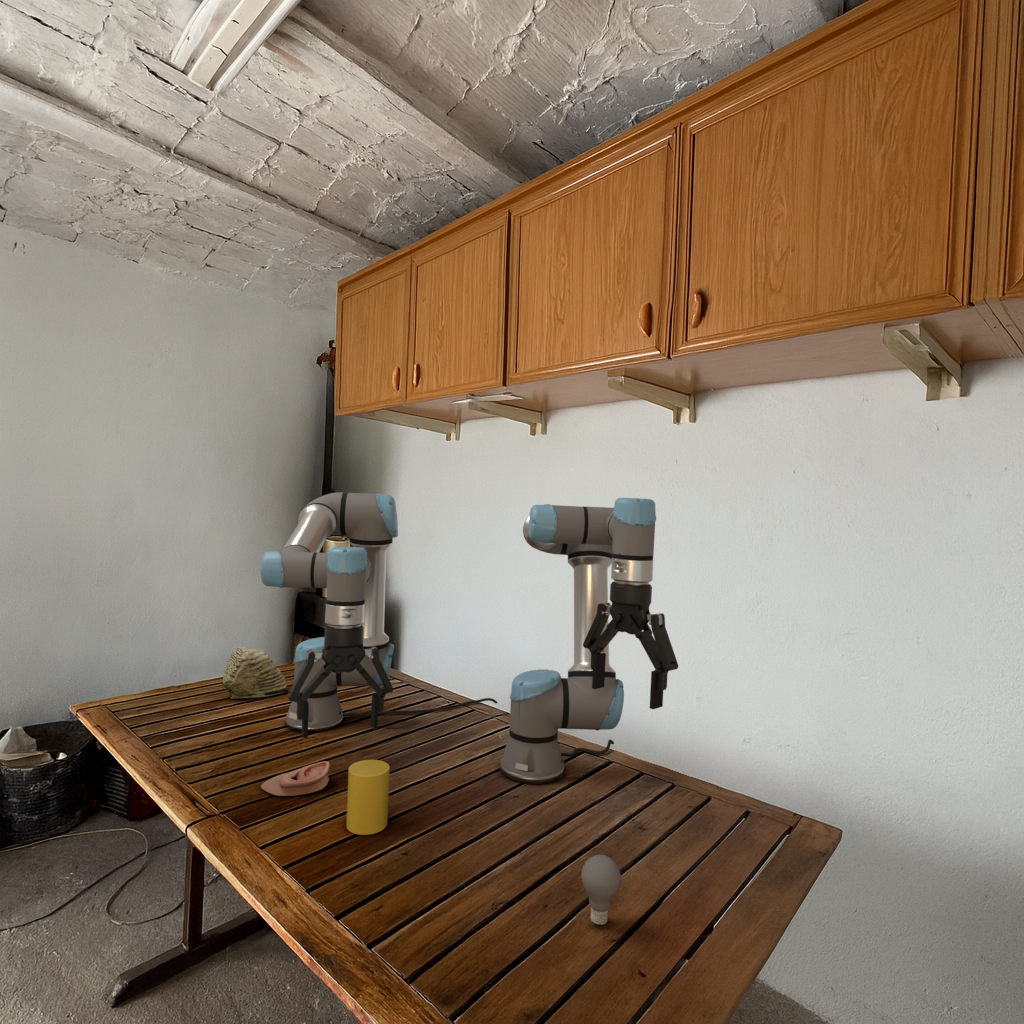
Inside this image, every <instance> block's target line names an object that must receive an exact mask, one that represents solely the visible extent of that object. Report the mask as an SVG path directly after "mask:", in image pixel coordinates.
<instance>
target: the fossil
mask: <svg viewBox="0 0 1024 1024" xmlns="http://www.w3.org/2000/svg"><path fill="white" fill-rule="evenodd" d="M222 676H223V677H222V685H223V687H224V688H225V690H226V691H228V693H229V698H230V699H250V698H264V697H271V696H275V695H281V694H284V693H285V691H286V689H287V687H288V686H287V680H286V678H285V676H284V674H283V673H282V672H281V669H279V668H278V667H277V665H276V663H275V662H274V660H273V659H272V658H271V657H270V656H269V655H268V654H267V653H266V652H265V650H264V649H263V648H260V647H258V648H251V647H247V646H246V647H245V646H238V647H237V648H236V649H235V650H233V651H232V653H231V656H230V657H229V659H228V660H227V663H226V666H225V668H224V671H223V675H222Z"/></svg>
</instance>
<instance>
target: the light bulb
mask: <svg viewBox="0 0 1024 1024" xmlns="http://www.w3.org/2000/svg"><path fill="white" fill-rule="evenodd" d="M621 875H622V874H621V871H620V868H619V867H618V865H617V863H616V862H615V861H614V860H613V859H612V858H611V857H609V856H608V855H605V854H595V855H592V856H590V857H589V858H588V859H587V860H586V861H585V862H584V864H583V866H582V869H581V875H580V877H581V883H582V886H583V888H584V890H585V892H586V894H587V896H588V902H589V905H590V920H591V922H593V923H594V924H596V925H601V926H602V925H606V924H607V922H608V918H609V917H608V914H609V908H610V906H611V903H612V900H613V898H614V897H615V895H616V894H617V892H618V891H619V889H620V885H621V880H622V876H621Z"/></svg>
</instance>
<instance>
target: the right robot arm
mask: <svg viewBox="0 0 1024 1024" xmlns="http://www.w3.org/2000/svg"><path fill="white" fill-rule="evenodd" d="M656 521H657V516H656V502H655V501H654V500H653V499H651V498H638V497H618V498H616V499H615V501H614V504H613V507H609V506H608V507H606V506H577V505H576V506H575V505H560V504H559V505H557V504H550V503H545V504H534V505H532V506H531V507H530V511H529V516H527V518H526V520H525V521H524V523H523V527H522V534H523V535H522V536H523V538H524V540H525V542H526V543H527V544H528V545H529V546H530V547H531V548H533V549H535V550H537V551H539V552H543V553H546V554H550V555H560V556H567V564H568V565H569V566H571V568H572V569H573V665H572V666H571V667H570V668H569V669H568V670H567V677H562V676H561V673H560V672H559V671H557V670H553V669H543V668H542V669H541V668H540V669H532V670H528V671H523V672H522V673H521V672H520V673H519V674H517V675H516V676H515V677H514V678H513V680H512V682H511V687H510V689H511V690H510V694H509V699H510V710H509V711H510V713H509V729H508V731H509V732H508V739H507V742H506V744H505V748H504V752H503V754H502V755H501V758H500V760H499V770H500V772H501V774H502V775H503V776H505V778H507V779H510V780H513V781H515V782H519V783H524V784H529V785H531V784H532V785H533V784H534V785H539V784H548V783H552V782H556V781H557V780H559V779H561V778H562V777H563V776H564V773H565V763H564V759H563V757H567V758H572V757H574V756H575V755H576V754H577V752H584V753H589V754H593V755H603V754H606V753H607V752H608V751H609V750H610V748H611V745H614V744H615V742H614V740H612V739H608V741H607V745H606V747H605V748H604V749H602V750H595V749H590V748H586V747H576V748H574V749H573V750H572V752H570V753H569V752H561V748H560V743H559V740H558V739H559V737H558V736H559V729H560V730H561V729H563V730H588V731H589V730H593V731H601V730H603V731H604V730H605V731H606V730H613V729H615V728H616V727H617V726H618V724H619V723H620V720H621V718H622V713H623V709H624V702H625V690H624V682H623V681H622V680H621V679H619V678H617V672H616V670H615V668H613V667H612V666H611V664H610V643H611V642H612V640H613V639H614V638H615V637H616V636H617V634H618V633H627V634H628V635H631V636H633V635H634V636H635V638H636V639H637V640H639V642H640V644H641V646H642V648H643V649H644V651H645V653H646V655H647V657H648V659H649V661H650V662H651V664H652V666H653V668H654V670H651V671H650V692H649V693H650V694H649V709H650V710H656V709H659V708H663V704H664V691H666V690H667V688H668V675H669V674H668V673H669V672H670V671H675V670H678V669H679V664H678V660H677V656H676V654H675V651H674V648H673V645H672V642H671V640H670V636H669V634H668V630H667V628H666V616H665V614H664V613H663V612H661V613H660V612H659V613H651V612H650V607H651V604H652V596H653V586H652V585H651V582H652V581H654V579H653V578H654V555H655V554H654V551H655V534H656ZM610 567H611V568H610ZM609 568H610V579H612V580H613V581H612V582H611V583H610V586H609V582H608V581H609V578H608V577H609V576H608V569H609ZM609 601H610V602H611V603H610V602H609ZM610 616H611V620H610V621H609V618H610Z"/></svg>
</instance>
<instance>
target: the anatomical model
mask: <svg viewBox="0 0 1024 1024" xmlns="http://www.w3.org/2000/svg"><path fill="white" fill-rule="evenodd" d="M330 766H331V765H330V762H329V761H327V760H325V761H320V762H316V763H312V764H309V765H306V766H302V767H300V768H298V769H295V770H292V771H289V772H285V773H281V774H278V775H276V776H273V777H271V778H269V779H267V780H266V781H264V782H262V783H261V785H260V788H261V789H262V790H263V791H264V792H266V793H268V794H270V795H273V796H276V797H293V796H300V795H301V796H302V795H307V794H311V793H315V792H318V791H321V790H323V789H324V788H325V787H326V786H328V783H329V781H330V778H329V776H328V773H329V770H330Z"/></svg>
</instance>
